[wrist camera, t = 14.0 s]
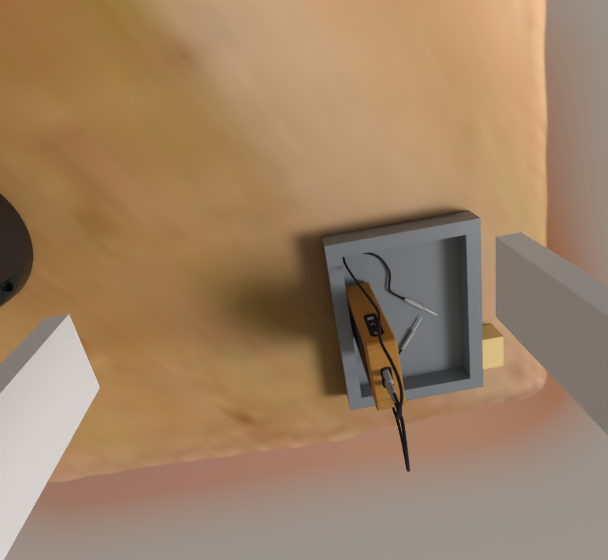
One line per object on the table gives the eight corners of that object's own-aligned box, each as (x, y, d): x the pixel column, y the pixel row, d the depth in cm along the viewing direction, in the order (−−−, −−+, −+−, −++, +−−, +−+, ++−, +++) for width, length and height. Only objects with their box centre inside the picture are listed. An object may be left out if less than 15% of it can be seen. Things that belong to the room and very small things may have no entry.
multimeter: (441, 347, 56) (523, 479, 37) (359, 365, 56) (401, 504, 38) (428, 233, 50) (519, 322, 32) (337, 253, 50) (374, 353, 32)
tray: (346, 394, 58) (350, 410, 56) (321, 237, 50) (324, 246, 47) (492, 368, 58) (503, 383, 55) (491, 206, 50) (503, 213, 47)
